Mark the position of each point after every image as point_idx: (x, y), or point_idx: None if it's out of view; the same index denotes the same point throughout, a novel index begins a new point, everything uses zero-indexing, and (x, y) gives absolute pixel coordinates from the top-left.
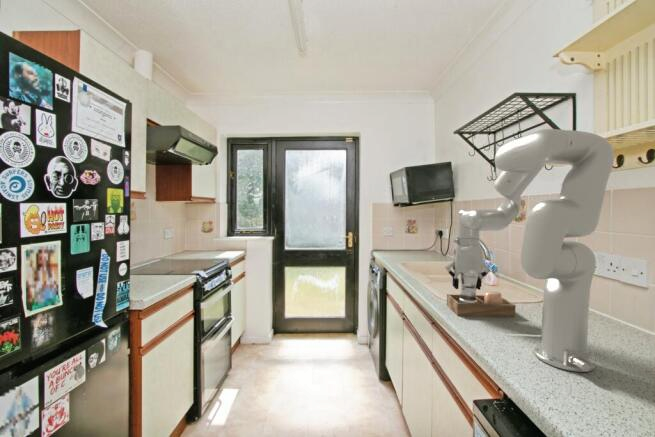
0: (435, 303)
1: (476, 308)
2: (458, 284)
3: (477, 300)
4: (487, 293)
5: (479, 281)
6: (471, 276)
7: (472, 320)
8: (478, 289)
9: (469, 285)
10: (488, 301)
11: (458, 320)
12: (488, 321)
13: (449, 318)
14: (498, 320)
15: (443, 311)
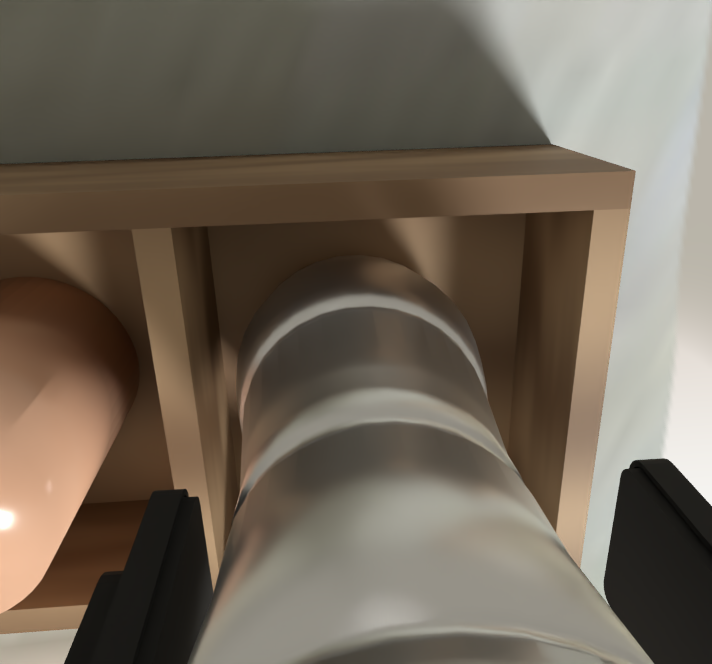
0: (600, 560)
1: (317, 169)
2: (679, 526)
3: (206, 445)
4: (17, 488)
5: (131, 635)
6: (497, 654)
7: (400, 47)
8: (189, 497)
9: (450, 464)
10: (58, 377)
11: (588, 26)
12: (195, 31)
13: (670, 91)
14: (45, 88)
15: (628, 330)
